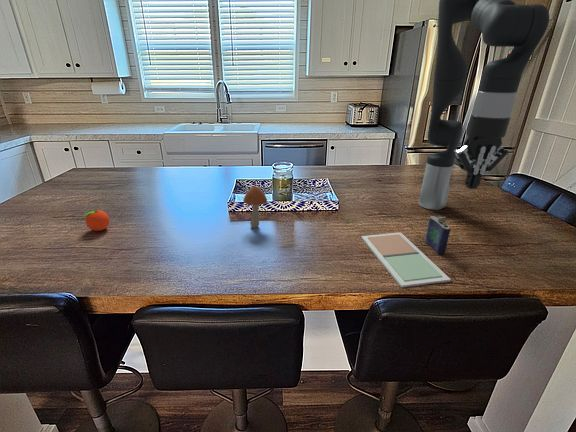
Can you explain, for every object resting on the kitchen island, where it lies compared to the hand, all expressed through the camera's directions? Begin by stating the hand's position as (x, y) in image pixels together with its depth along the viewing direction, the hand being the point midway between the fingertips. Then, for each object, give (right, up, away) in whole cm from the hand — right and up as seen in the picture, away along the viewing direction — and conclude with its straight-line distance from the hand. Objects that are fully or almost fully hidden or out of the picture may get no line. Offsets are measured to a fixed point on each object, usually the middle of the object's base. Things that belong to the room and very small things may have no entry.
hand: (470, 187), depth 77 cm
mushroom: (-56, -11, +34) cm, 66 cm away
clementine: (-109, -12, +31) cm, 114 cm away
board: (-11, -19, +16) cm, 27 cm away
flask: (+1, -17, +21) cm, 27 cm away
